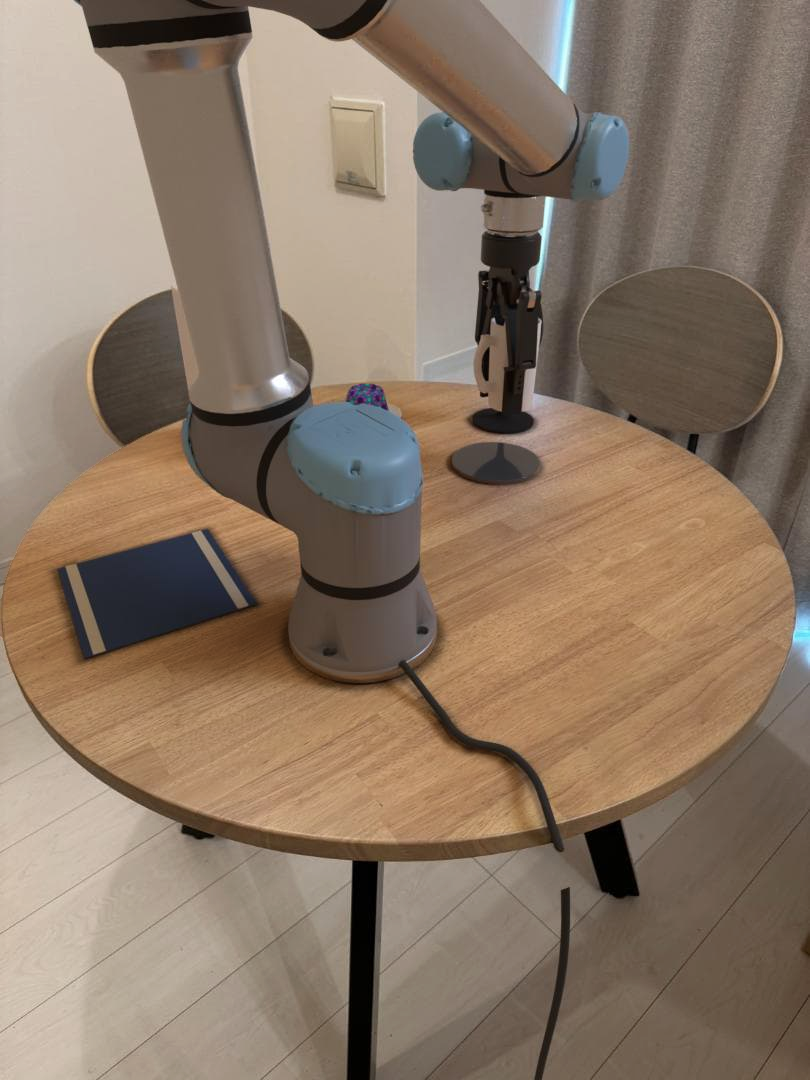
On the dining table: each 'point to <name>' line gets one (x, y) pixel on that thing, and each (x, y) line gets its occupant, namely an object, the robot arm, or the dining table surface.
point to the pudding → (371, 397)
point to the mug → (501, 367)
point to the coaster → (496, 463)
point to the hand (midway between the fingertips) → (500, 404)
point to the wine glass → (494, 419)
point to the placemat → (150, 591)
